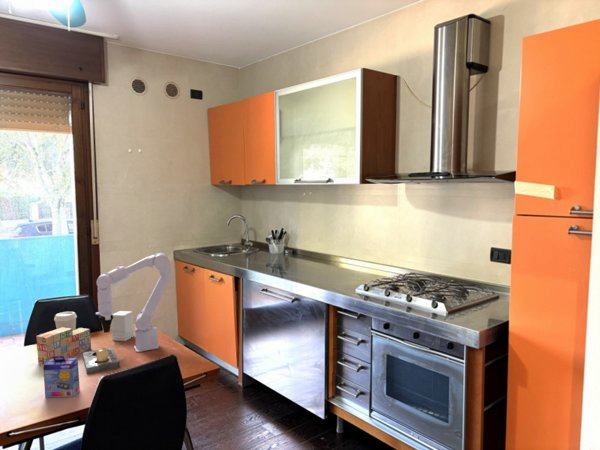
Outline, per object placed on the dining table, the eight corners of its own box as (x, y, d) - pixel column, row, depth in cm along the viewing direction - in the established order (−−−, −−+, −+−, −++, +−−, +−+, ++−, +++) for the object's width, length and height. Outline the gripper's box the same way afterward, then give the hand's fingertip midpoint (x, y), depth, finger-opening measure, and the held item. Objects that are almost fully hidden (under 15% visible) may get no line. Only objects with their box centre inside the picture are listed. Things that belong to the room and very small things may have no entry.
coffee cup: (82, 344, 207) (81, 312, 206) (62, 350, 199) (60, 317, 198) (71, 340, 212) (69, 310, 211) (51, 346, 204) (49, 315, 203)
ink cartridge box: (44, 398, 152) (41, 358, 151) (51, 391, 157) (49, 352, 156) (73, 397, 153) (71, 356, 152) (80, 390, 158) (78, 350, 157)
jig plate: (113, 352, 195) (112, 347, 194) (119, 367, 178) (119, 361, 178) (83, 358, 188) (82, 352, 188) (87, 374, 172) (86, 367, 172)
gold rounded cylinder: (107, 364, 182) (106, 347, 181) (108, 367, 178) (107, 350, 178) (96, 366, 180) (95, 349, 180) (97, 369, 177) (96, 352, 176)
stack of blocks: (81, 347, 203) (80, 321, 202) (91, 349, 200) (90, 322, 200) (37, 364, 183) (36, 335, 182) (48, 366, 181) (46, 337, 180)
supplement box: (134, 336, 217) (133, 311, 216) (125, 341, 210) (124, 315, 209) (121, 335, 218) (120, 310, 217) (111, 340, 211) (110, 314, 210)
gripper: (93, 299, 197) (95, 329, 198) (97, 306, 185) (98, 338, 186) (110, 297, 201) (111, 326, 202) (115, 304, 188) (116, 335, 189)
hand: (106, 332), depth 194 cm, fingers closed
